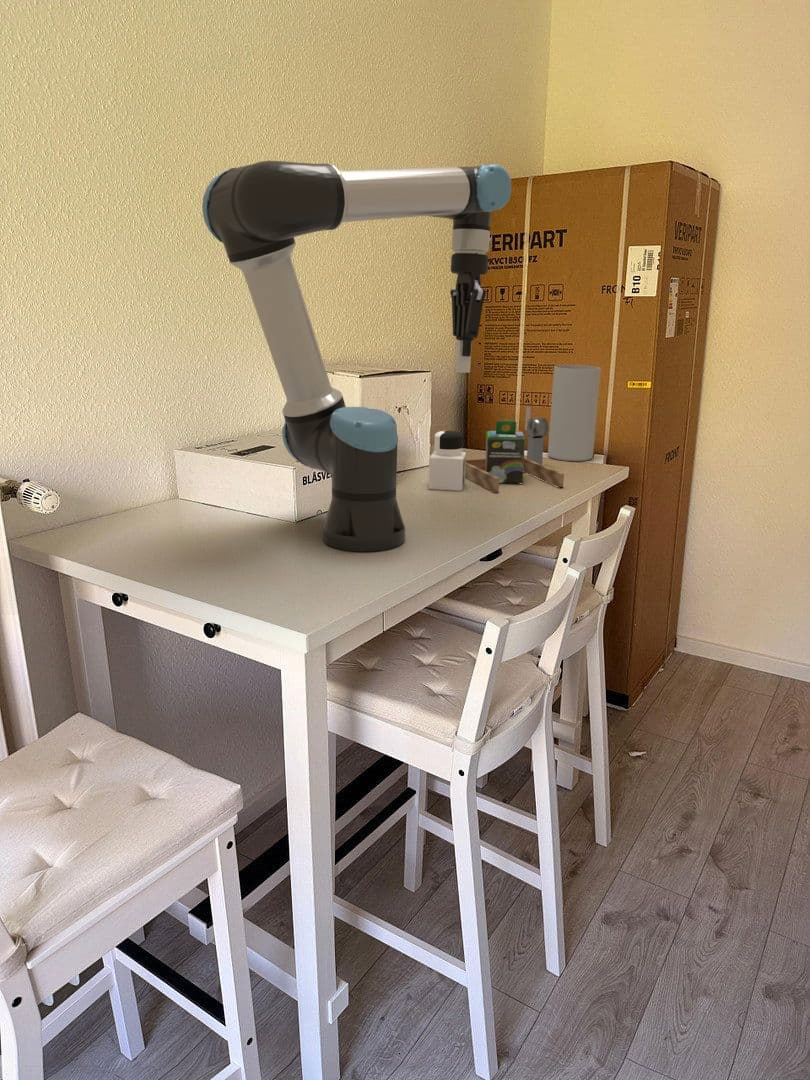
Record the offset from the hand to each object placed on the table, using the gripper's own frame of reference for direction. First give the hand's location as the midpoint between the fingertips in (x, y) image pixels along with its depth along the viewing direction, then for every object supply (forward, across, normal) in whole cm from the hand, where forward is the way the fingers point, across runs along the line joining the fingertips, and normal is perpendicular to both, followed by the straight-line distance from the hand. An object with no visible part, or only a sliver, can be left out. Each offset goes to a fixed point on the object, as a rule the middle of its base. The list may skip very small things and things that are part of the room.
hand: (462, 372), depth 164 cm
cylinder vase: (+26, +35, -50) cm, 67 cm away
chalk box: (+27, +15, -19) cm, 37 cm away
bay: (+27, +13, -20) cm, 36 cm away
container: (+28, +12, -3) cm, 30 cm away
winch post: (+26, +26, -34) cm, 50 cm away
